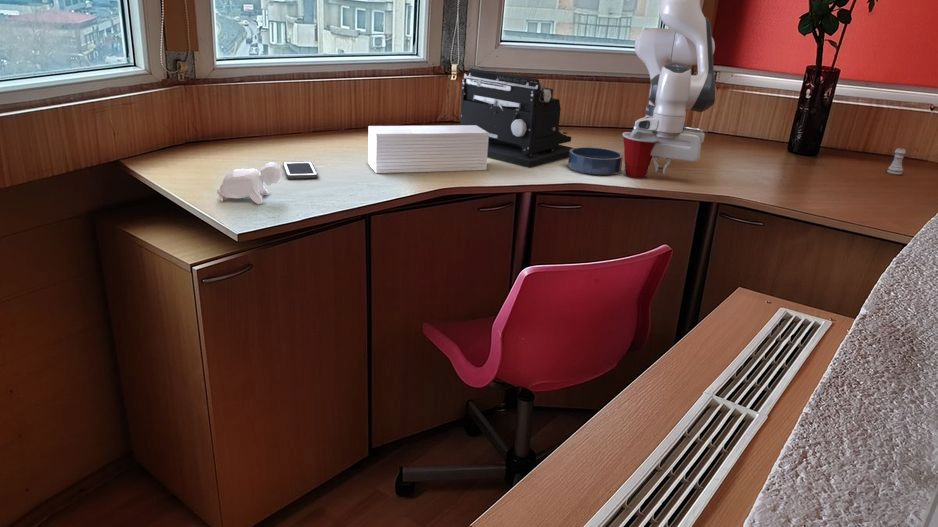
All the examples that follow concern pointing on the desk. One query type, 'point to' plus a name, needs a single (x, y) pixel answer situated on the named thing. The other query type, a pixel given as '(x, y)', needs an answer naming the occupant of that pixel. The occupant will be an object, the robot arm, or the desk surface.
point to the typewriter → (514, 117)
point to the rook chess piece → (897, 163)
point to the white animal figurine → (250, 182)
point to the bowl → (595, 160)
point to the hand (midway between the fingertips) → (660, 172)
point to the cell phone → (299, 169)
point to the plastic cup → (637, 156)
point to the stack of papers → (427, 148)
